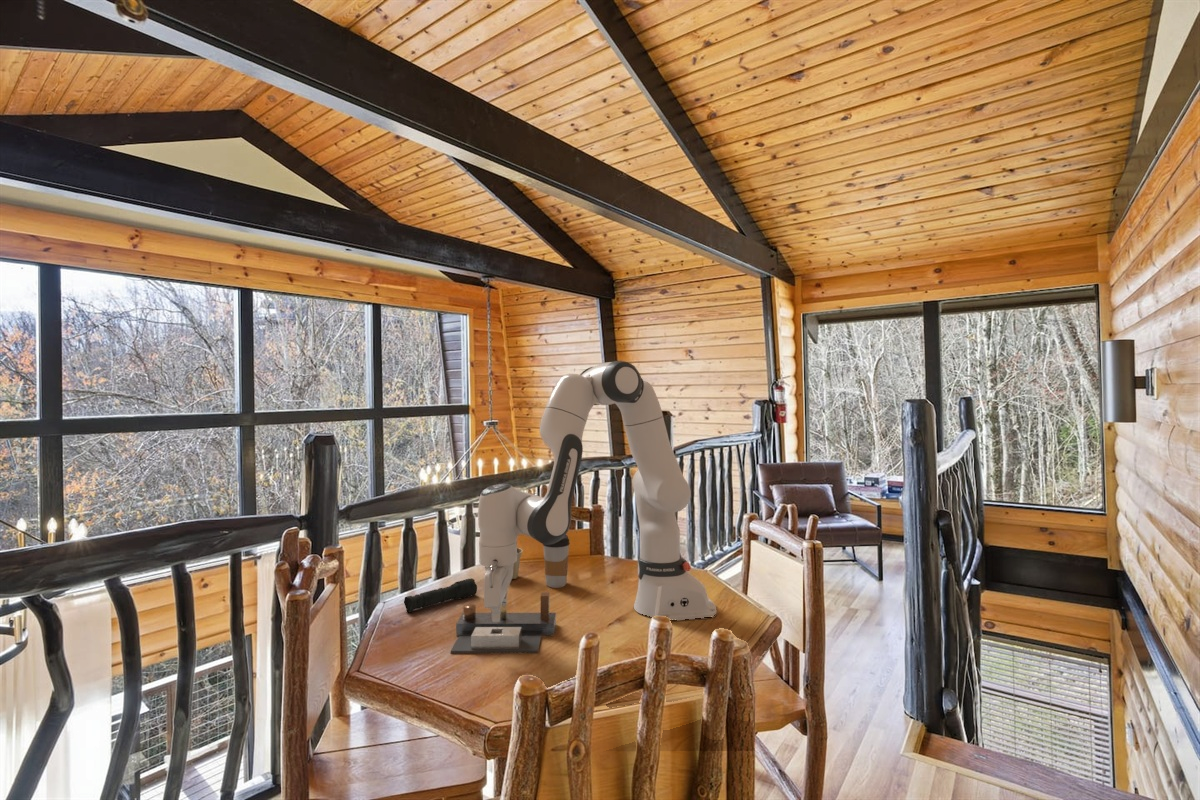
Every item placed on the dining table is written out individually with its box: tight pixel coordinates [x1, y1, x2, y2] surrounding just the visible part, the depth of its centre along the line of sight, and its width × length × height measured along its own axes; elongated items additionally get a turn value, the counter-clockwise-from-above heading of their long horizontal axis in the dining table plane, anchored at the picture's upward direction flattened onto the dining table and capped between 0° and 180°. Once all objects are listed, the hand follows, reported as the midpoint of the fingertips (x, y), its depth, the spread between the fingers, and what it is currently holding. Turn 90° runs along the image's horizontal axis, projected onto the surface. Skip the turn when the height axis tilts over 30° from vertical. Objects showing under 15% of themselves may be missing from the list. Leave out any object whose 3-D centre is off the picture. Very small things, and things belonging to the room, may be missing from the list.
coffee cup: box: [542, 534, 570, 589], centre depth 179 cm, size 8×8×15 cm
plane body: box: [455, 592, 557, 637], centre depth 145 cm, size 24×7×9 cm, turn 90°
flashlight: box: [403, 577, 478, 613], centre depth 164 cm, size 5×21×5 cm, turn 135°
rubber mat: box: [450, 636, 542, 654], centre depth 136 cm, size 20×8×1 cm, turn 90°
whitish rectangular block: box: [471, 627, 522, 649], centre depth 136 cm, size 11×5×3 cm, turn 90°
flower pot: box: [512, 547, 524, 580], centre depth 186 cm, size 9×9×9 cm
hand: (499, 612), depth 136 cm, fingers open, 8 cm apart
